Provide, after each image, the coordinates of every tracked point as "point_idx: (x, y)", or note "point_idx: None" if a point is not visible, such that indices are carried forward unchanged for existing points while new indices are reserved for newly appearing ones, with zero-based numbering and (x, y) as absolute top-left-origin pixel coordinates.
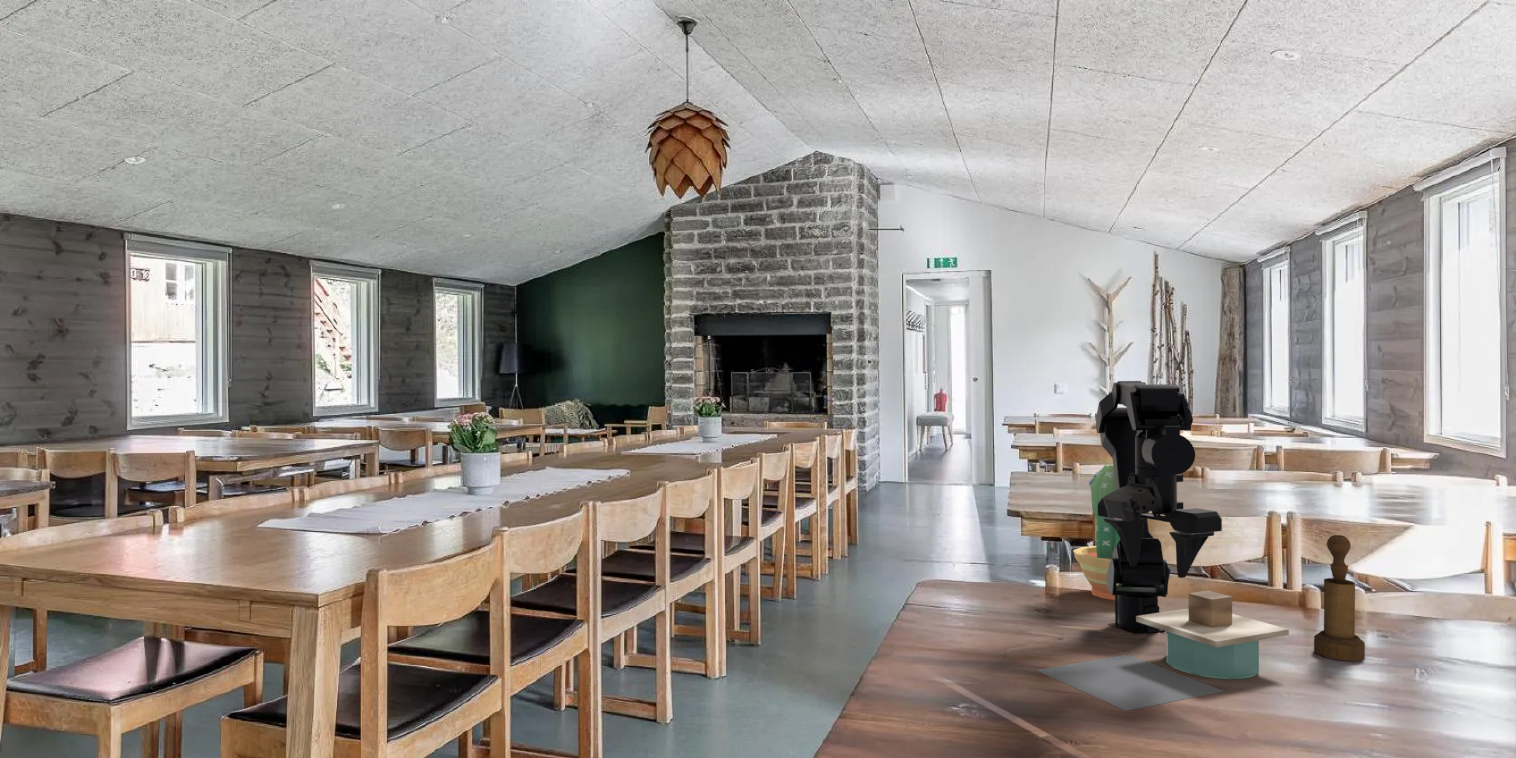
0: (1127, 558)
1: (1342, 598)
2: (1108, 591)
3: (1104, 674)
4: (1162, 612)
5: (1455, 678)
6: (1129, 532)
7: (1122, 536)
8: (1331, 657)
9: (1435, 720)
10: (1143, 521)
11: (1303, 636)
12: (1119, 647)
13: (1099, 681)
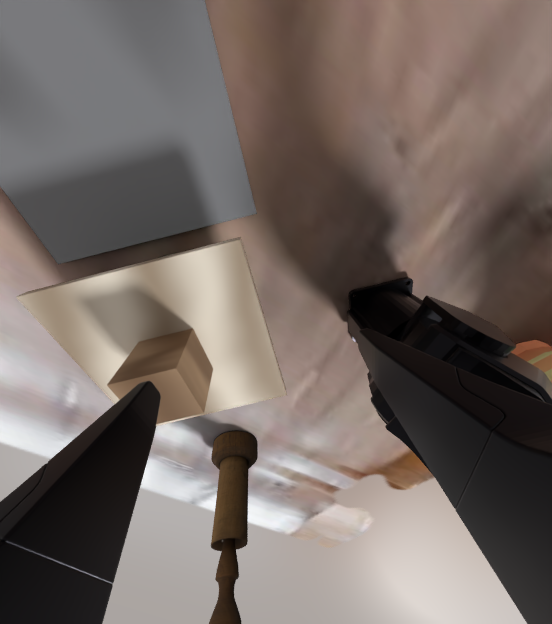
0: (386, 336)
1: (216, 517)
2: (519, 355)
3: (126, 67)
4: (260, 312)
5: (163, 475)
6: (482, 461)
7: (489, 402)
8: (222, 434)
9: (28, 419)
10: (516, 601)
11: (294, 444)
12: (316, 237)
13: (65, 7)
